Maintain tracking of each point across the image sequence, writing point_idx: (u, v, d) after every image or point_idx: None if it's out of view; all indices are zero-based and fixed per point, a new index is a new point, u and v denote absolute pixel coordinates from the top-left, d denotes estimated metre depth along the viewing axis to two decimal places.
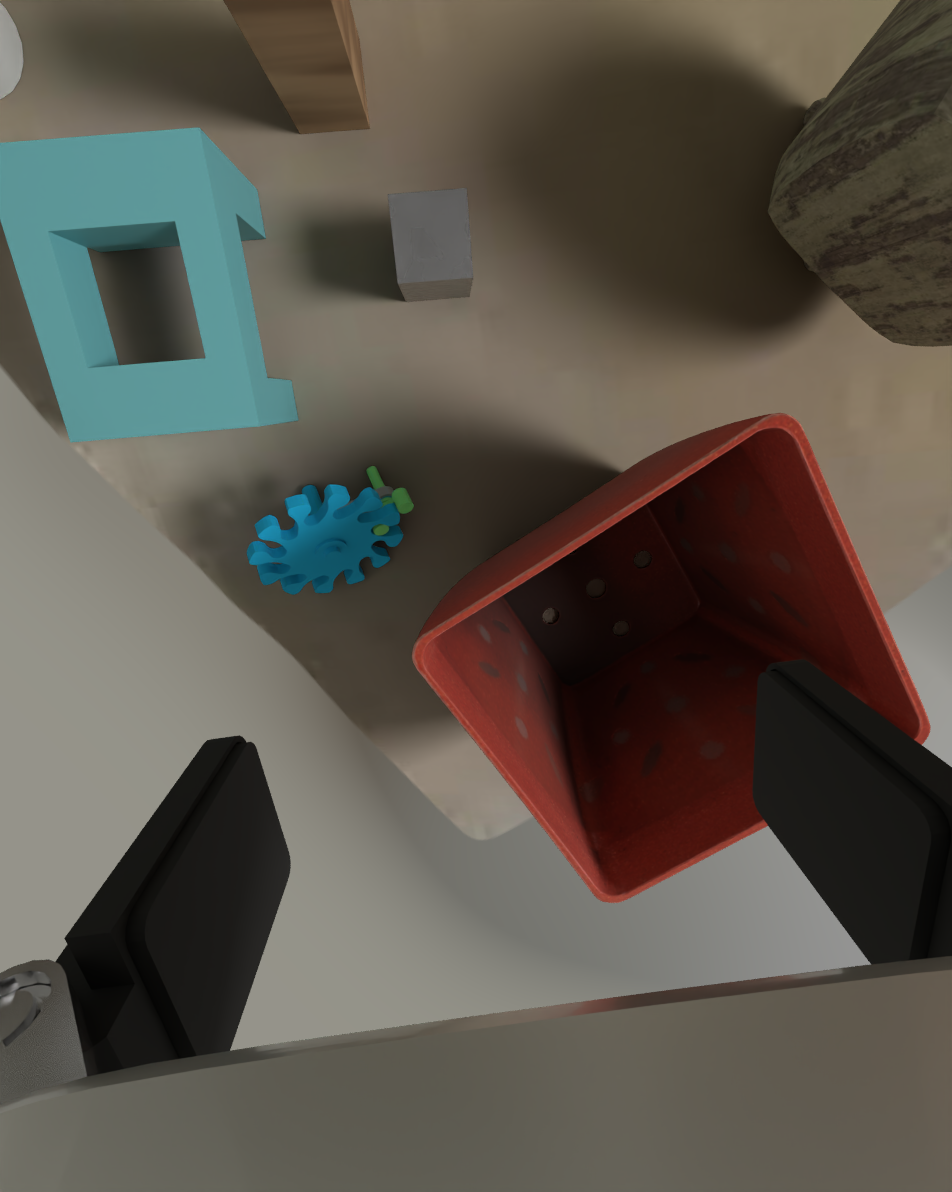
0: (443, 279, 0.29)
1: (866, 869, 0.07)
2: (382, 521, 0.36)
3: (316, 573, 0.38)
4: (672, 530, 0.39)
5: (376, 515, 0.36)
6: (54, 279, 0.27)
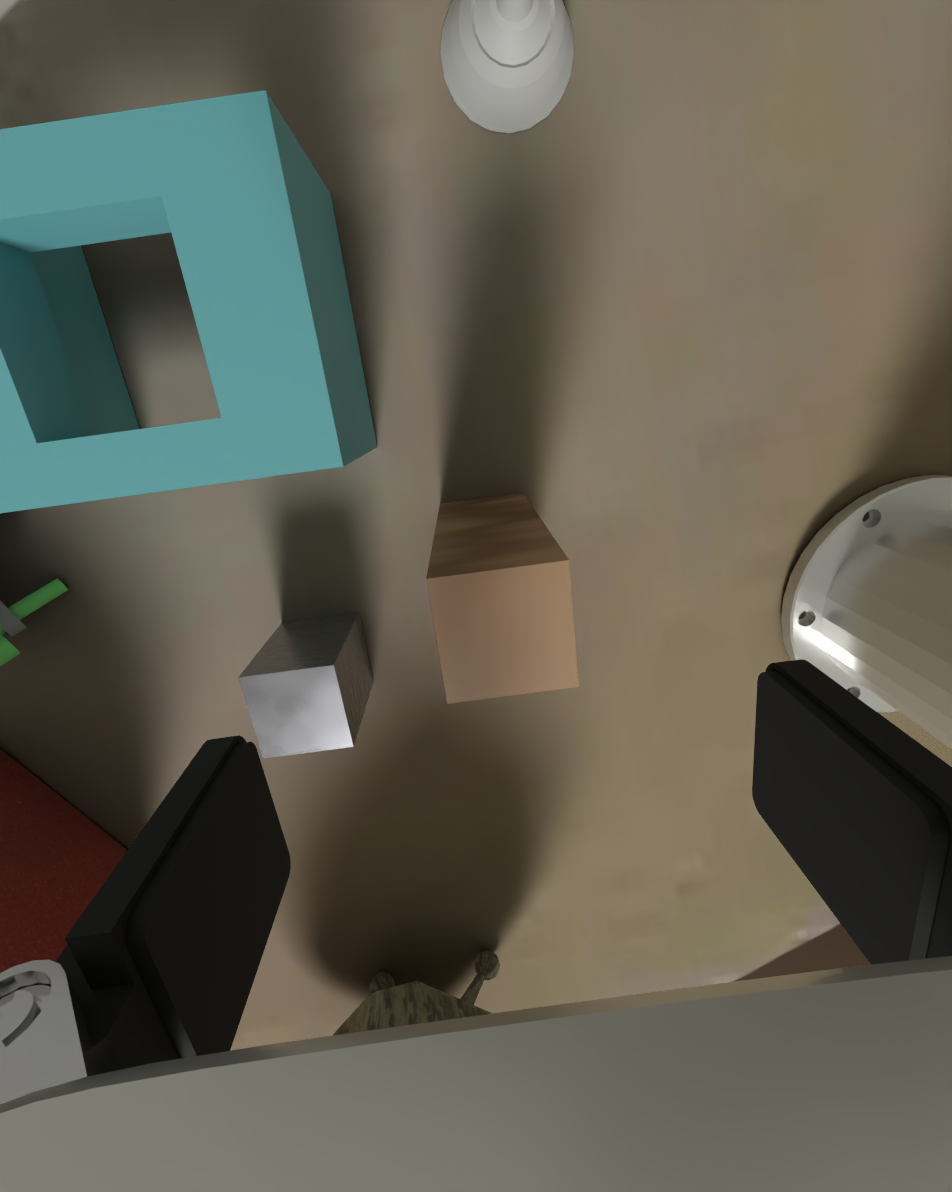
0: (254, 727, 0.24)
1: (866, 869, 0.07)
2: None
3: None
4: None
5: None
6: (88, 192, 0.16)
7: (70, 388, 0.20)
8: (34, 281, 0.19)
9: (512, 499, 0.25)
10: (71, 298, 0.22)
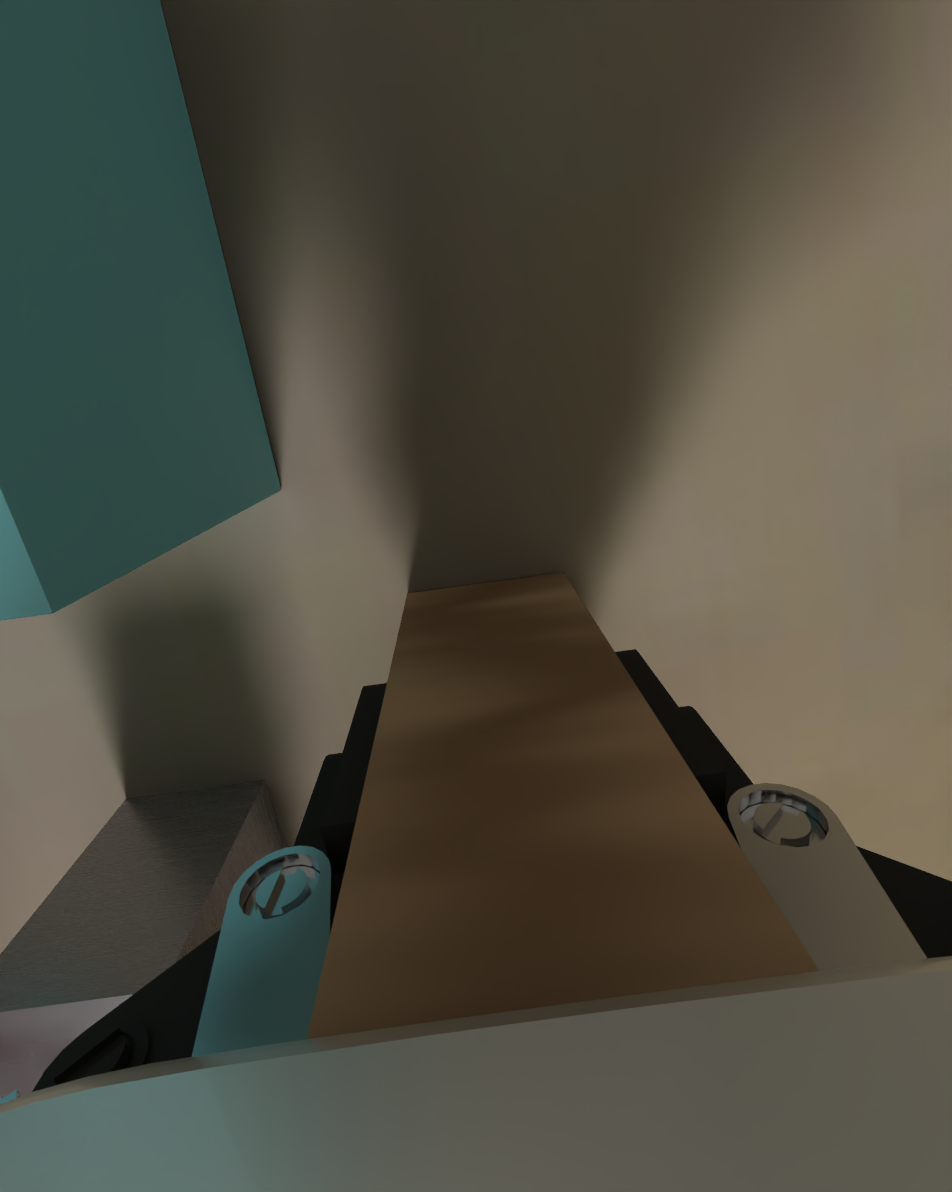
0: None
1: None
2: None
3: None
4: None
5: None
6: None
7: None
8: None
9: (548, 595, 0.13)
10: None
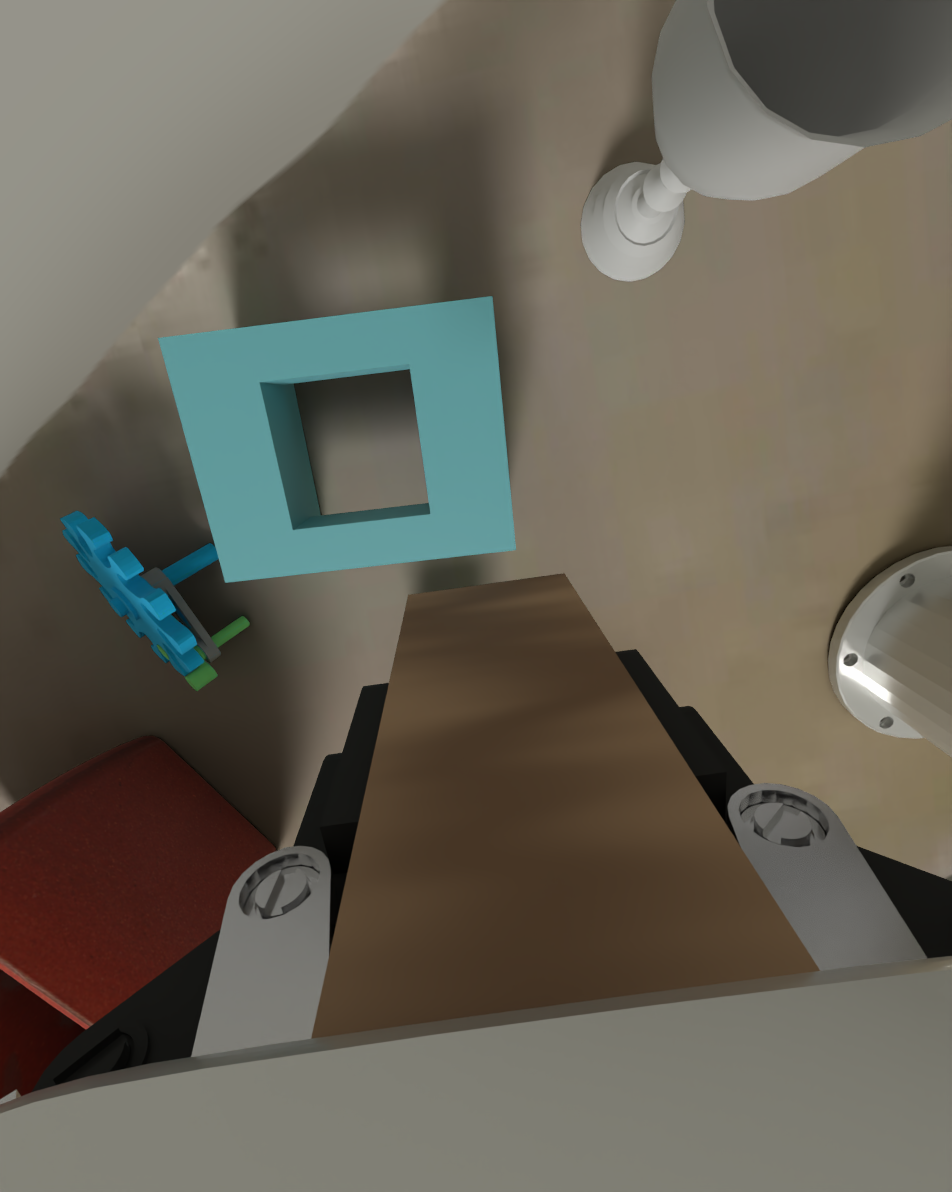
0: None
1: None
2: (171, 658, 0.31)
3: (95, 571, 0.30)
4: None
5: None
6: (357, 360, 0.22)
7: (301, 482, 0.26)
8: (285, 406, 0.25)
9: (549, 596, 0.13)
10: None
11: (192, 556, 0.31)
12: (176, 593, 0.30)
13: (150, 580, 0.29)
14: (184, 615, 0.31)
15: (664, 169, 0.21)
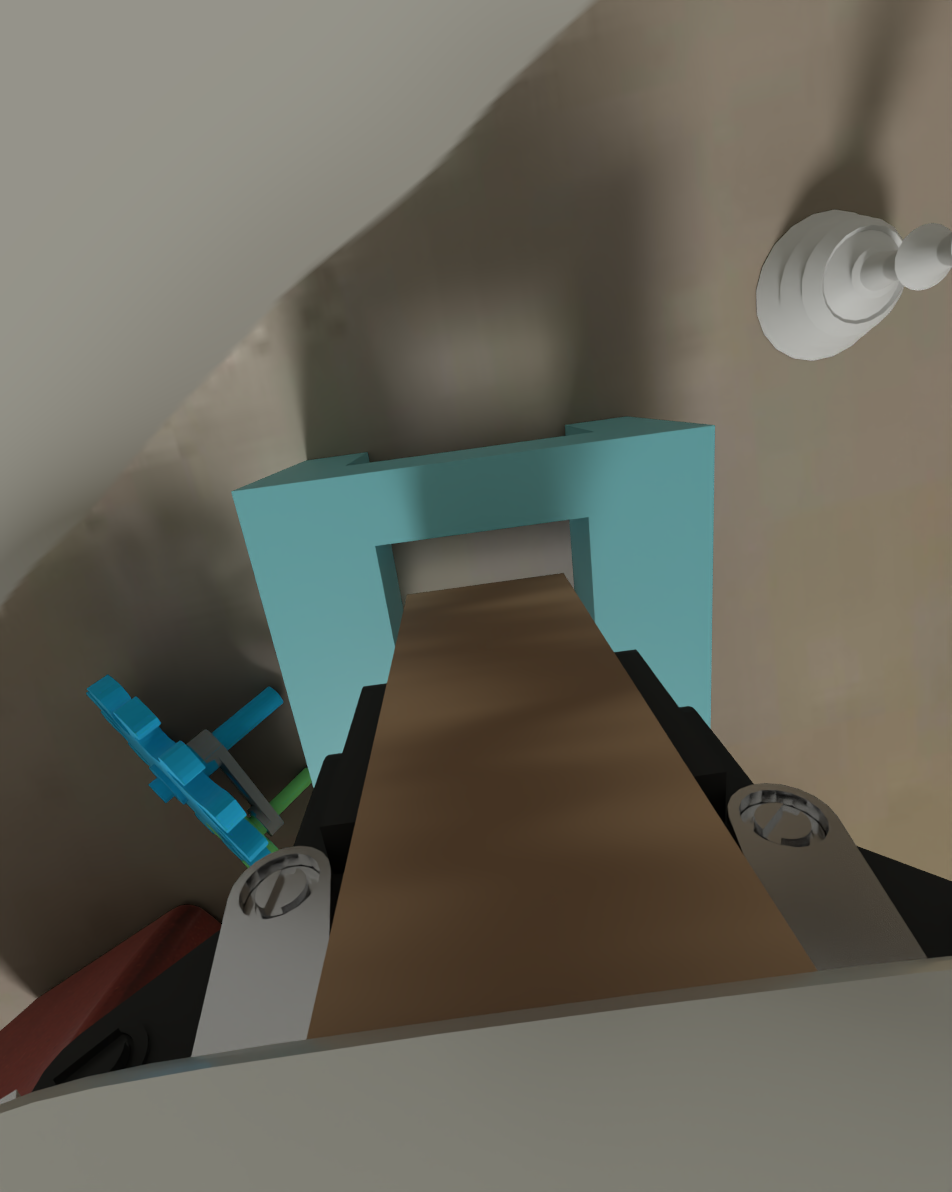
0: None
1: None
2: (225, 842, 0.24)
3: (129, 739, 0.23)
4: None
5: None
6: (516, 514, 0.15)
7: None
8: (391, 552, 0.18)
9: (548, 596, 0.13)
10: None
11: (250, 709, 0.24)
12: (233, 762, 0.24)
13: (202, 752, 0.23)
14: (242, 787, 0.24)
15: None
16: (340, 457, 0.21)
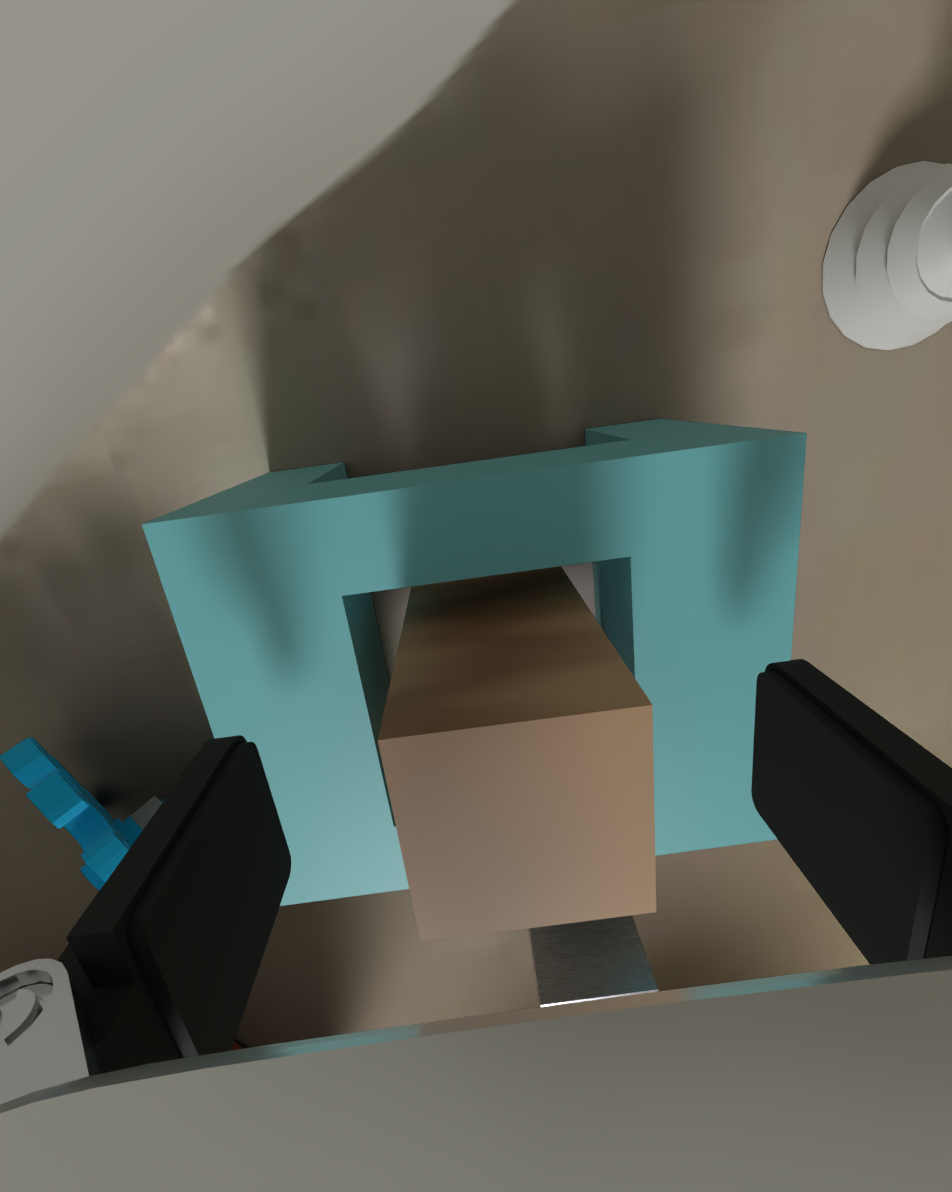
0: None
1: (865, 868, 0.07)
2: None
3: None
4: None
5: None
6: (533, 553, 0.11)
7: None
8: (368, 594, 0.14)
9: None
10: None
11: None
12: None
13: None
14: None
15: None
16: (309, 469, 0.17)
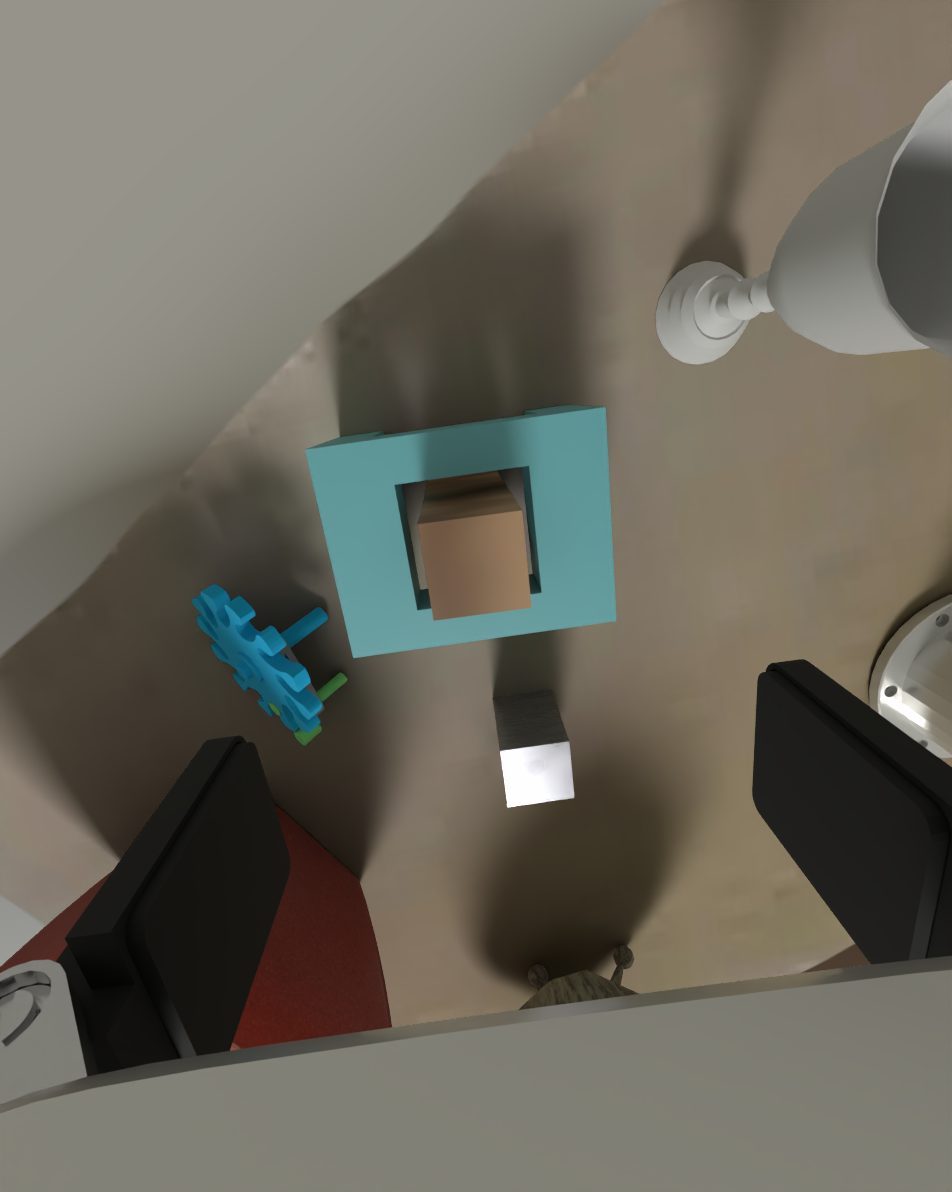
0: (505, 785, 0.33)
1: (866, 869, 0.07)
2: (284, 716, 0.33)
3: (220, 635, 0.32)
4: None
5: (291, 711, 0.33)
6: (483, 464, 0.24)
7: (414, 561, 0.28)
8: (402, 495, 0.27)
9: (487, 475, 0.31)
10: None
11: (305, 621, 0.33)
12: (293, 657, 0.33)
13: None
14: None
15: (755, 293, 0.24)
16: (364, 434, 0.30)
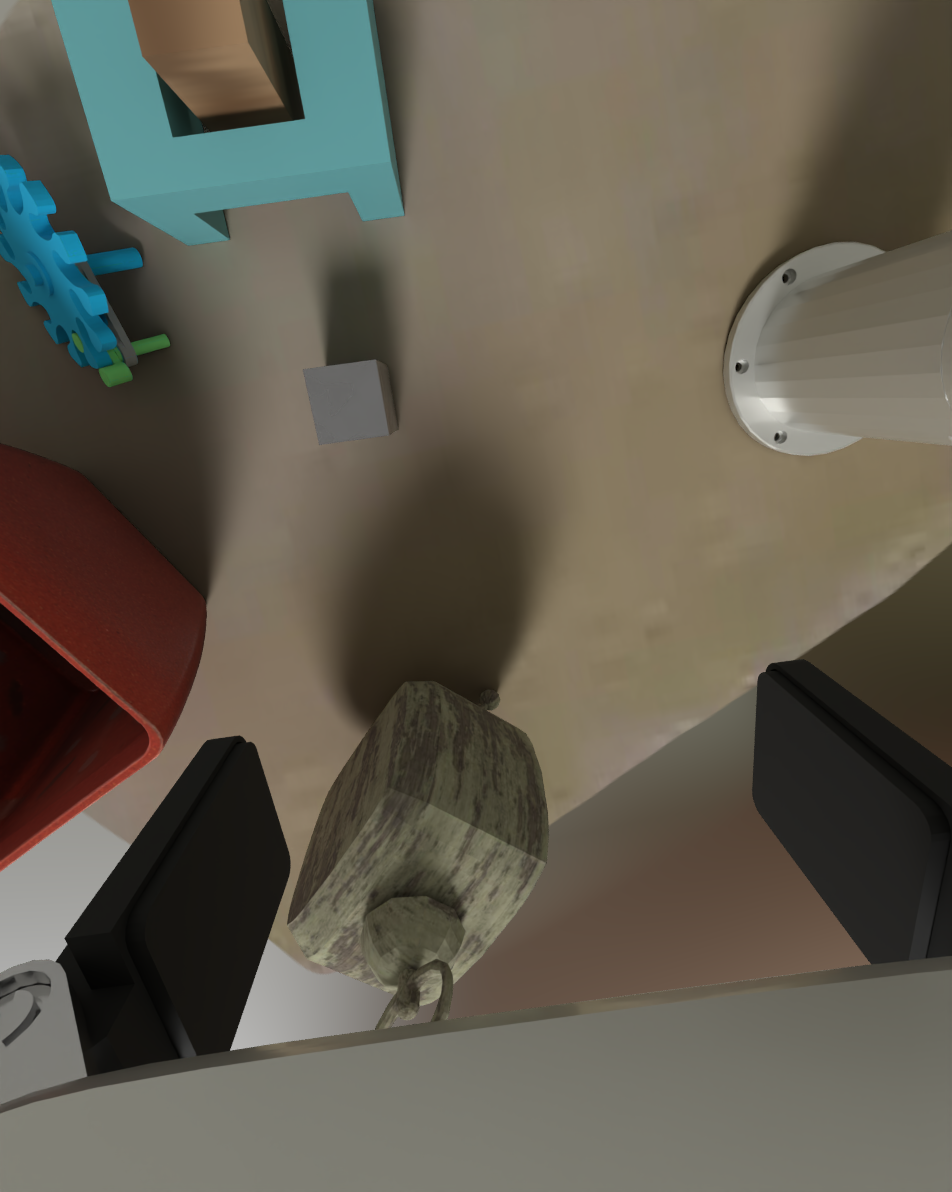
0: (313, 415, 0.31)
1: (867, 869, 0.07)
2: (85, 346, 0.31)
3: (12, 244, 0.30)
4: None
5: None
6: None
7: (187, 118, 0.27)
8: None
9: None
10: None
11: (113, 251, 0.32)
12: (93, 278, 0.31)
13: None
14: None
15: None
16: None
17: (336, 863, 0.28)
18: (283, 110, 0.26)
